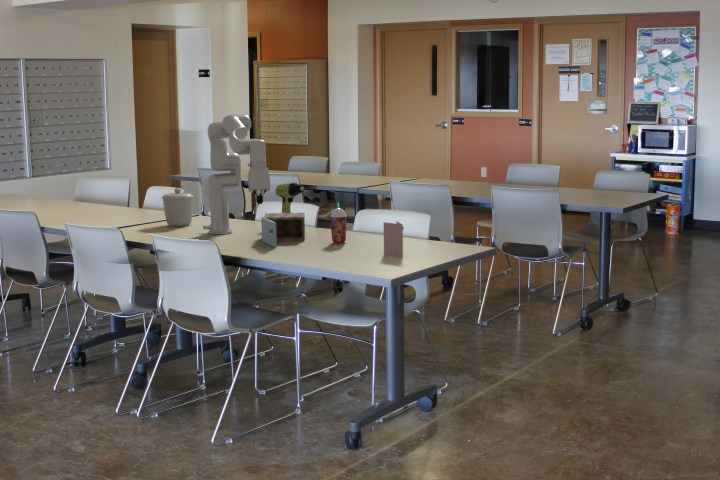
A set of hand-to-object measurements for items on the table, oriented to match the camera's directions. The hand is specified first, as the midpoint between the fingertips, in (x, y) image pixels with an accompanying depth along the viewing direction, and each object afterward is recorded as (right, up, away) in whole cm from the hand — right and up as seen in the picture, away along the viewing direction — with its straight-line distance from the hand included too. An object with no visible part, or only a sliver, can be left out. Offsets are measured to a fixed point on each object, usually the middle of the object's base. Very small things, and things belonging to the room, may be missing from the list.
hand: (259, 203), depth 456 cm
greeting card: (+64, -25, -25) cm, 73 cm away
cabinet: (+10, -17, +25) cm, 32 cm away
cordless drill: (+12, -11, +58) cm, 60 cm away
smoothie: (+38, -19, +10) cm, 44 cm away
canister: (-53, -10, +75) cm, 93 cm away
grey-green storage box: (+3, -20, +8) cm, 21 cm away
